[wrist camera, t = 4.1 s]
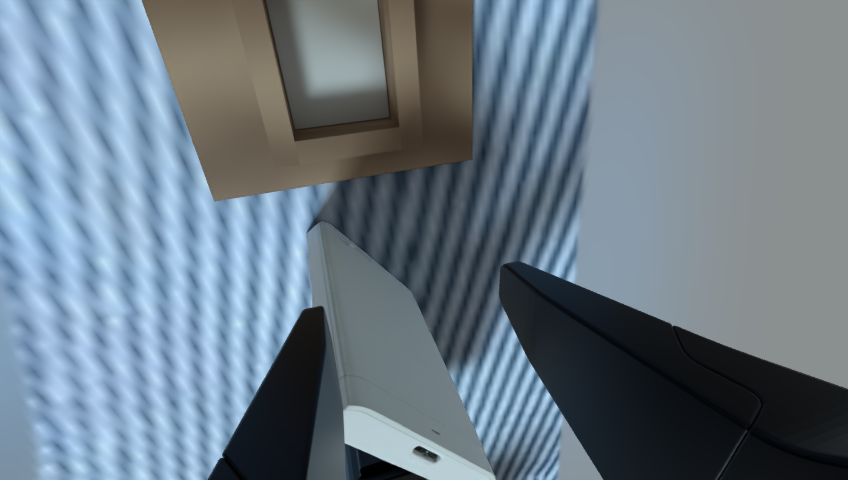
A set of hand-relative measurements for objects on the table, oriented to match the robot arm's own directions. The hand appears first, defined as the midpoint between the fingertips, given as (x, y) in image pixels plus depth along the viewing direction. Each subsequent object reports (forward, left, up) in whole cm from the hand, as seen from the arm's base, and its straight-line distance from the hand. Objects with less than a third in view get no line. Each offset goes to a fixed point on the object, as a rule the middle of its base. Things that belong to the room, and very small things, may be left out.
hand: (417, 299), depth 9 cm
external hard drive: (-8, 0, -14) cm, 16 cm away
